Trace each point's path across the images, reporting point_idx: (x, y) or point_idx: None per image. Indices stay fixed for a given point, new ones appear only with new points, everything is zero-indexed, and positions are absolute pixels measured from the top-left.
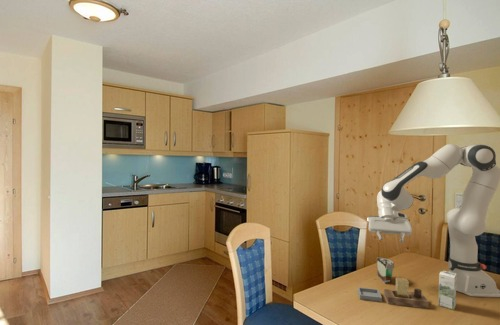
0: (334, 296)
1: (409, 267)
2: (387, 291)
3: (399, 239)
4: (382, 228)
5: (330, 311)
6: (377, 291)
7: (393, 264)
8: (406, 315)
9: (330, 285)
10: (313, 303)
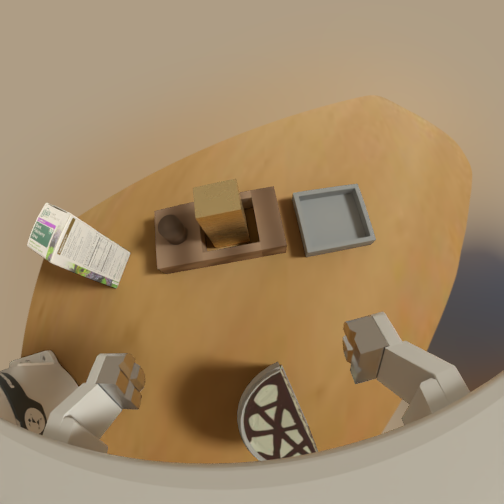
0: (414, 182)
1: None
2: (275, 228)
3: (138, 398)
4: (405, 451)
5: (391, 117)
6: (309, 243)
7: (239, 414)
8: (228, 157)
9: (445, 249)
10: (432, 137)
